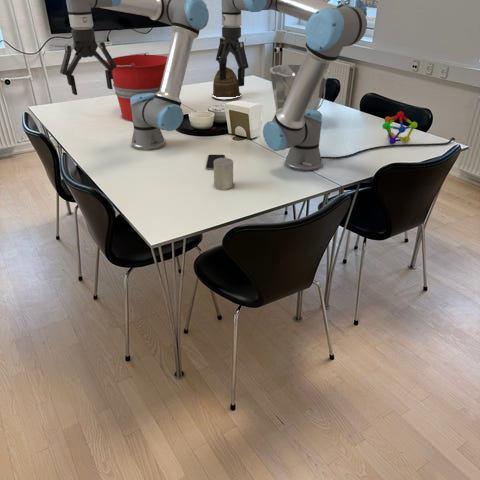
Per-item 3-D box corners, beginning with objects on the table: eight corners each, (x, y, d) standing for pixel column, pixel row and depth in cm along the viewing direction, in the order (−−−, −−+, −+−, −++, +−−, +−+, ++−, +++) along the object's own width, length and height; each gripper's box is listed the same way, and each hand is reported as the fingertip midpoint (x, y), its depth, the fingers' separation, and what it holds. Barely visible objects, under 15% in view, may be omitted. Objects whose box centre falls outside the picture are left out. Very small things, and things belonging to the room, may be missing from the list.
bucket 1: (121, 106, 263) (114, 51, 247) (180, 106, 262) (176, 52, 246) (104, 123, 233) (95, 63, 217) (170, 124, 232) (166, 64, 216)
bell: (227, 105, 294) (202, 96, 282) (238, 66, 289) (213, 55, 277) (243, 108, 280) (217, 98, 268) (255, 66, 275) (229, 55, 263)
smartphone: (205, 167, 182) (208, 154, 195) (205, 169, 182) (208, 155, 195) (223, 168, 182) (225, 154, 194) (223, 169, 182) (225, 156, 195)
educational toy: (377, 146, 209) (379, 114, 202) (384, 138, 219) (386, 107, 211) (411, 149, 202) (415, 116, 195) (417, 141, 212) (420, 109, 204)
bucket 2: (296, 138, 215) (301, 78, 201) (255, 124, 234) (256, 68, 219) (335, 125, 232) (342, 70, 217) (294, 113, 251) (297, 61, 236)
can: (223, 191, 165) (223, 166, 160) (210, 185, 169) (209, 161, 164) (237, 185, 169) (237, 161, 164) (223, 180, 174) (223, 156, 168)
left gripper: (49, 32, 143) (63, 98, 154) (120, 26, 156) (128, 88, 168) (41, 29, 148) (55, 94, 159) (111, 24, 161) (119, 84, 173)
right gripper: (206, 23, 179) (208, 78, 190) (241, 30, 162) (241, 90, 173) (222, 22, 183) (223, 76, 194) (258, 29, 165) (256, 87, 177)
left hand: (92, 91), depth 163 cm, fingers open, 13 cm apart
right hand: (231, 82), depth 184 cm, fingers open, 13 cm apart
